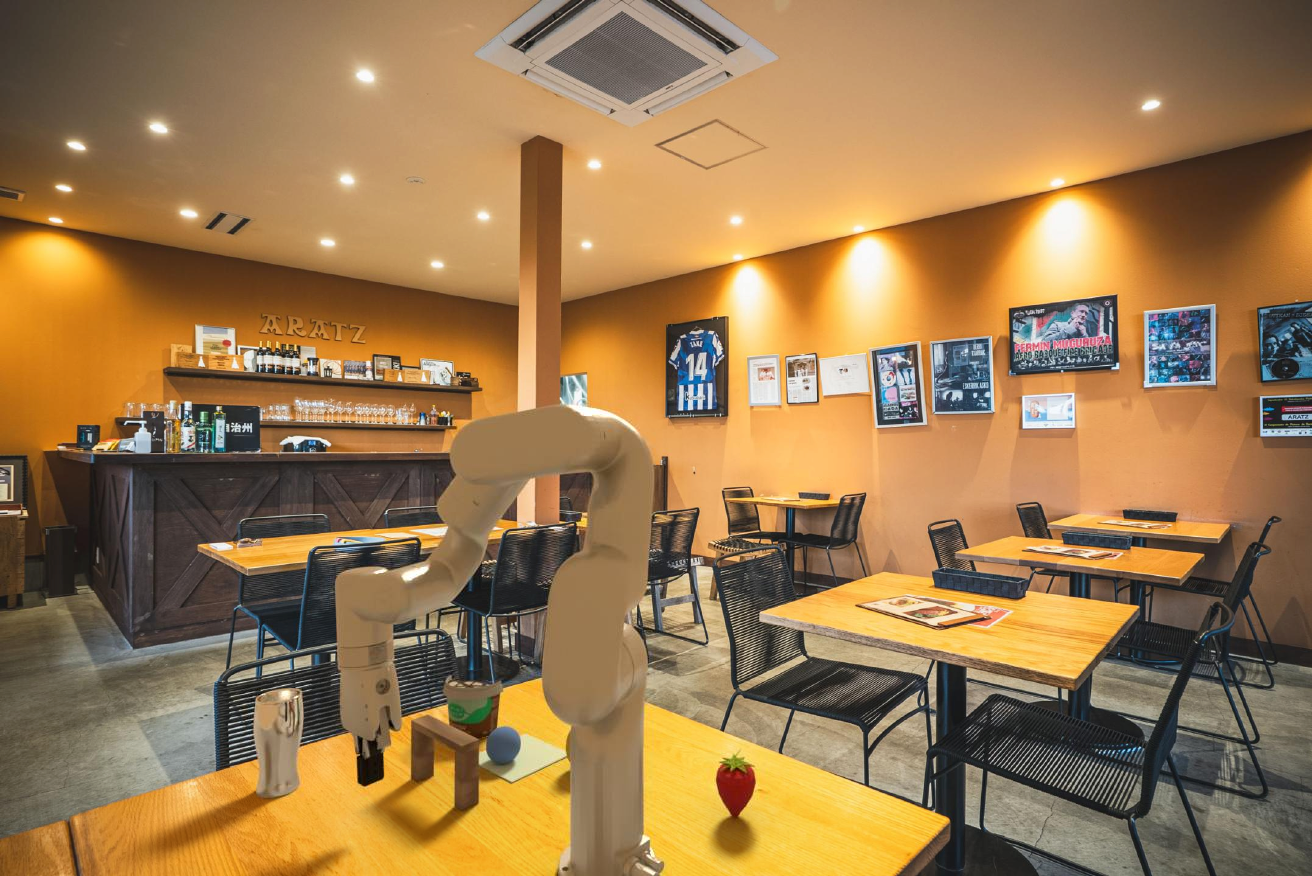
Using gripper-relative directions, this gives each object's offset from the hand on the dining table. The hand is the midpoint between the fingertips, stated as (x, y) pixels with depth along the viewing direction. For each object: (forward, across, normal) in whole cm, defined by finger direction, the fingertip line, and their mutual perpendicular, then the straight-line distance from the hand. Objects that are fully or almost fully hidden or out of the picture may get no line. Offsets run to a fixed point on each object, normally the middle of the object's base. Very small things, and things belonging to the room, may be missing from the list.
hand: (371, 781), depth 94 cm
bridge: (+7, +2, -12) cm, 14 cm away
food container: (+7, +16, -26) cm, 32 cm away
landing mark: (+7, +2, -27) cm, 28 cm away
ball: (+4, +2, -24) cm, 25 cm away
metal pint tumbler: (+6, +22, +5) cm, 24 cm away
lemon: (+8, -10, -31) cm, 34 cm away
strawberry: (+10, -38, -36) cm, 54 cm away
